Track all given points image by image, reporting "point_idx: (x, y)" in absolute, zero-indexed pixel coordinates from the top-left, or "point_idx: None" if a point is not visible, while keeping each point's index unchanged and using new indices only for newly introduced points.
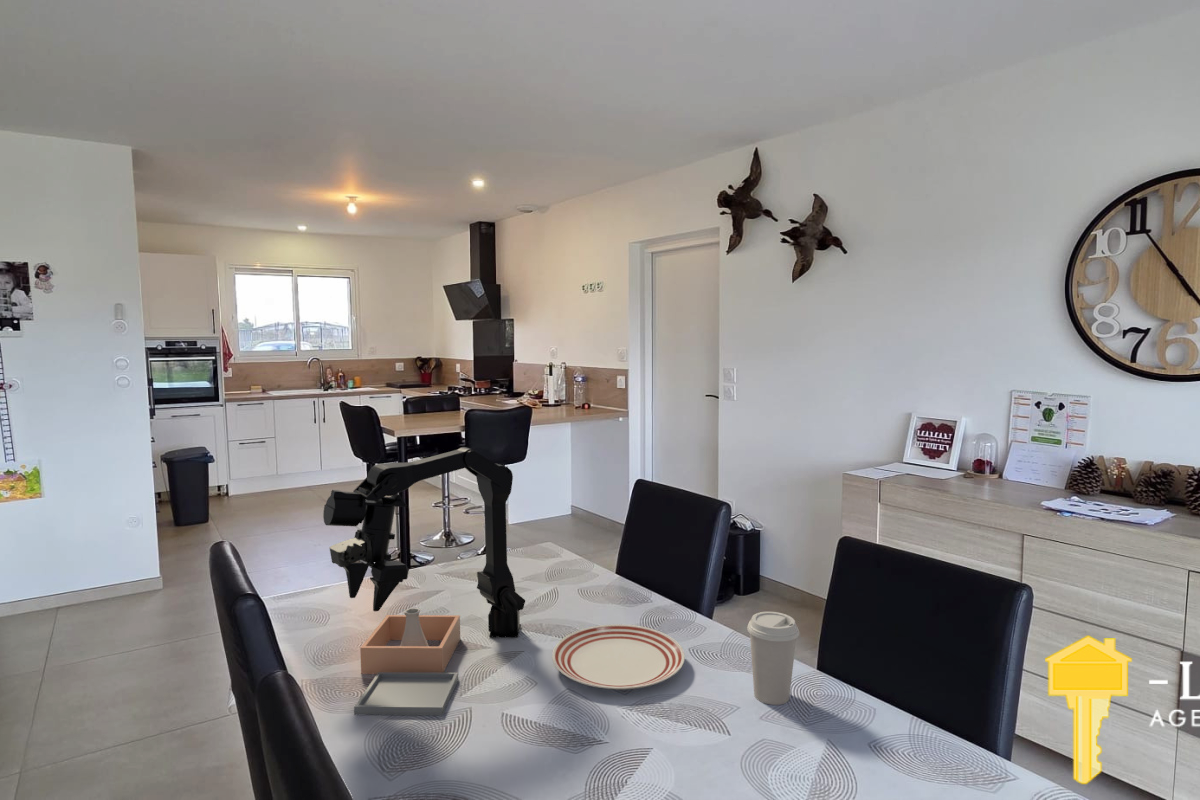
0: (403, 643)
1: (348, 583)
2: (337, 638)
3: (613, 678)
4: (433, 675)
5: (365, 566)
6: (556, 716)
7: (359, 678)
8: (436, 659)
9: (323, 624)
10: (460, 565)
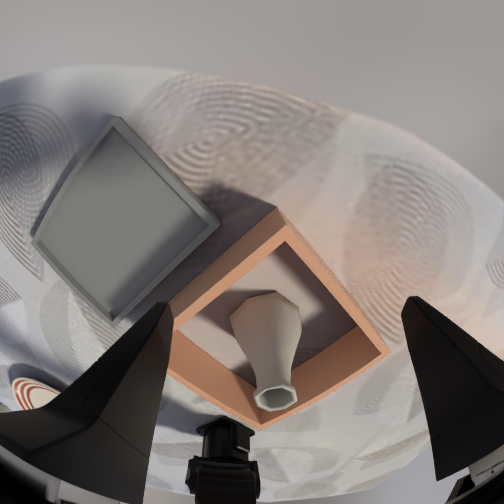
0: (269, 324)
1: (463, 336)
2: (445, 255)
3: (45, 400)
4: (133, 298)
5: (444, 461)
6: (3, 325)
7: (259, 193)
8: None
9: (488, 264)
10: (427, 440)
